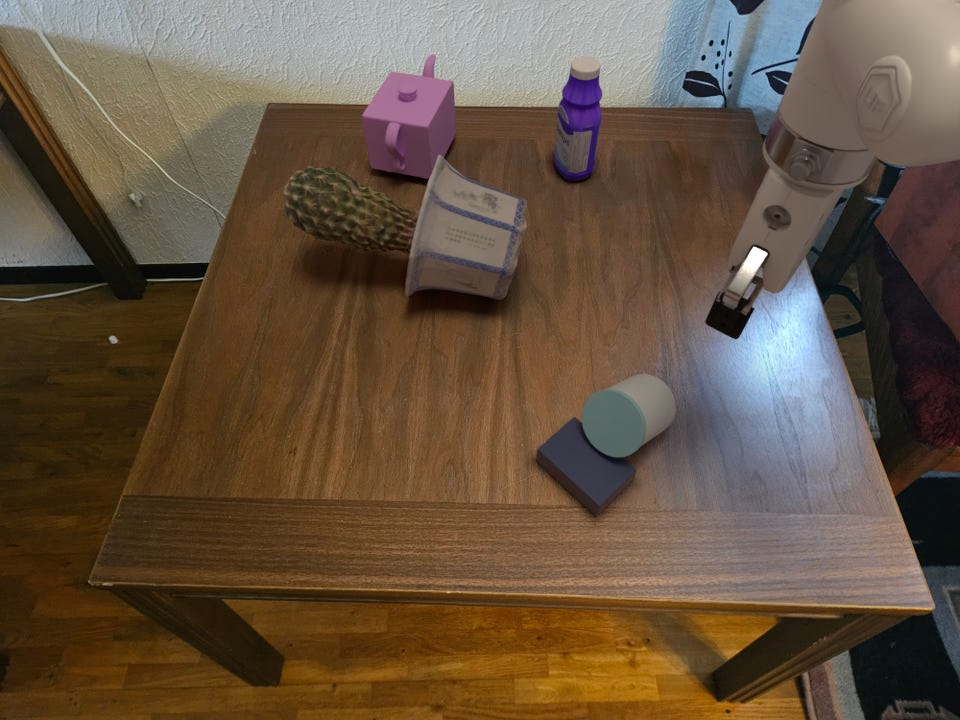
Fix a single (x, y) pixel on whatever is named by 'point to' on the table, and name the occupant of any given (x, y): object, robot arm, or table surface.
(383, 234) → the potted plant
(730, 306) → the robot arm
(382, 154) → the teapot
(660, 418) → the beige cylinder teal cap
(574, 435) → the dark rectangular block
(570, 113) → the bottle
